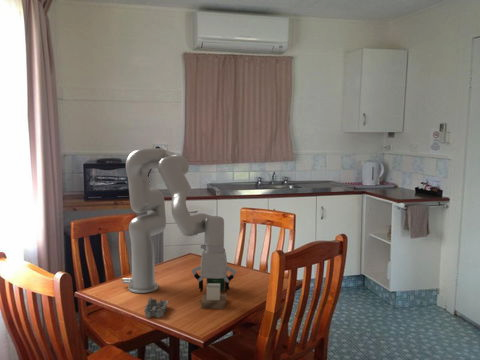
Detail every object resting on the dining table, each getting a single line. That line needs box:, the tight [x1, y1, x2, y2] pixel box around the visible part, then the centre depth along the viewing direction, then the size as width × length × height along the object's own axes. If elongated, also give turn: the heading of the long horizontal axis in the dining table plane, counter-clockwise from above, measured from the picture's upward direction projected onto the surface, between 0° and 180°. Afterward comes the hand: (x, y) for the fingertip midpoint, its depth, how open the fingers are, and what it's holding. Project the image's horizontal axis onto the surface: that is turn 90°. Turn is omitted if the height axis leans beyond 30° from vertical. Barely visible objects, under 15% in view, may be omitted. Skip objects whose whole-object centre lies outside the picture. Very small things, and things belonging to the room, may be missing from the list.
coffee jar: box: [206, 248, 226, 292], centre depth 191 cm, size 10×8×19 cm
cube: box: [206, 283, 221, 300], centre depth 174 cm, size 5×5×5 cm
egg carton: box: [144, 297, 169, 319], centre depth 167 cm, size 11×8×4 cm
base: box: [200, 293, 227, 310], centre depth 175 cm, size 9×9×3 cm
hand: (213, 290), depth 174 cm, fingers open, 9 cm apart
